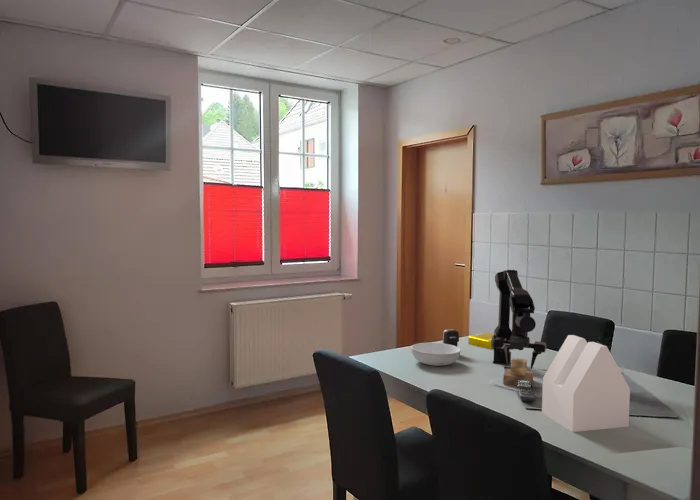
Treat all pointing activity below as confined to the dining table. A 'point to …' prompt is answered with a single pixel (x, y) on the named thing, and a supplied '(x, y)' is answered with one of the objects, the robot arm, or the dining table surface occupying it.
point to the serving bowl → (435, 353)
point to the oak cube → (518, 366)
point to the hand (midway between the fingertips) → (518, 366)
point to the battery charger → (451, 337)
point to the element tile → (481, 340)
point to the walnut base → (516, 377)
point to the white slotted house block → (585, 388)
